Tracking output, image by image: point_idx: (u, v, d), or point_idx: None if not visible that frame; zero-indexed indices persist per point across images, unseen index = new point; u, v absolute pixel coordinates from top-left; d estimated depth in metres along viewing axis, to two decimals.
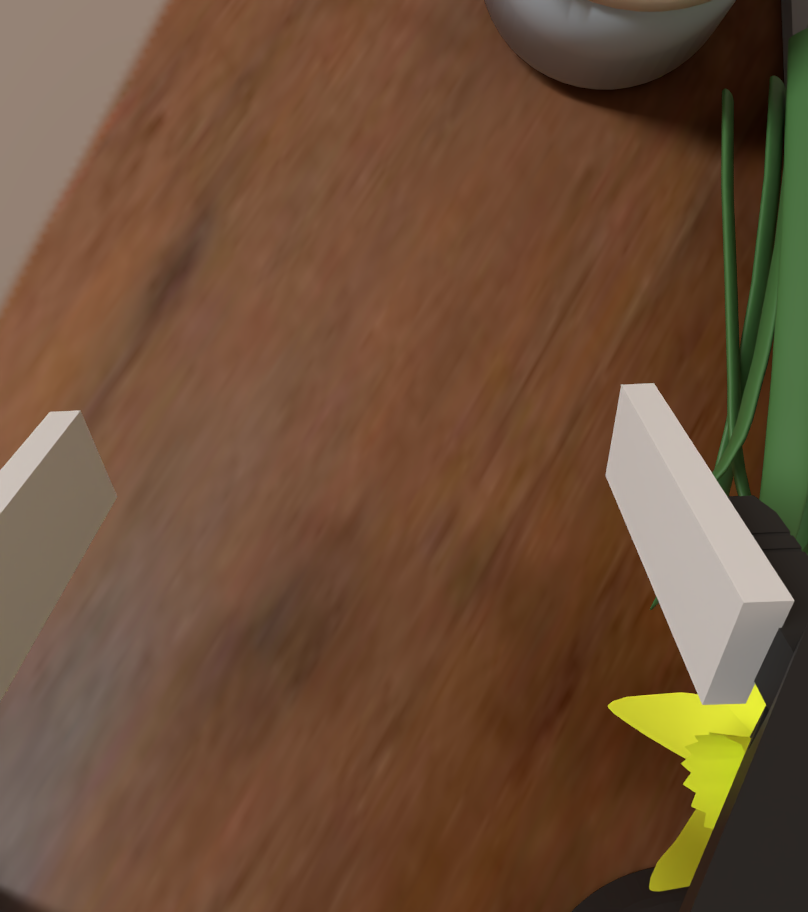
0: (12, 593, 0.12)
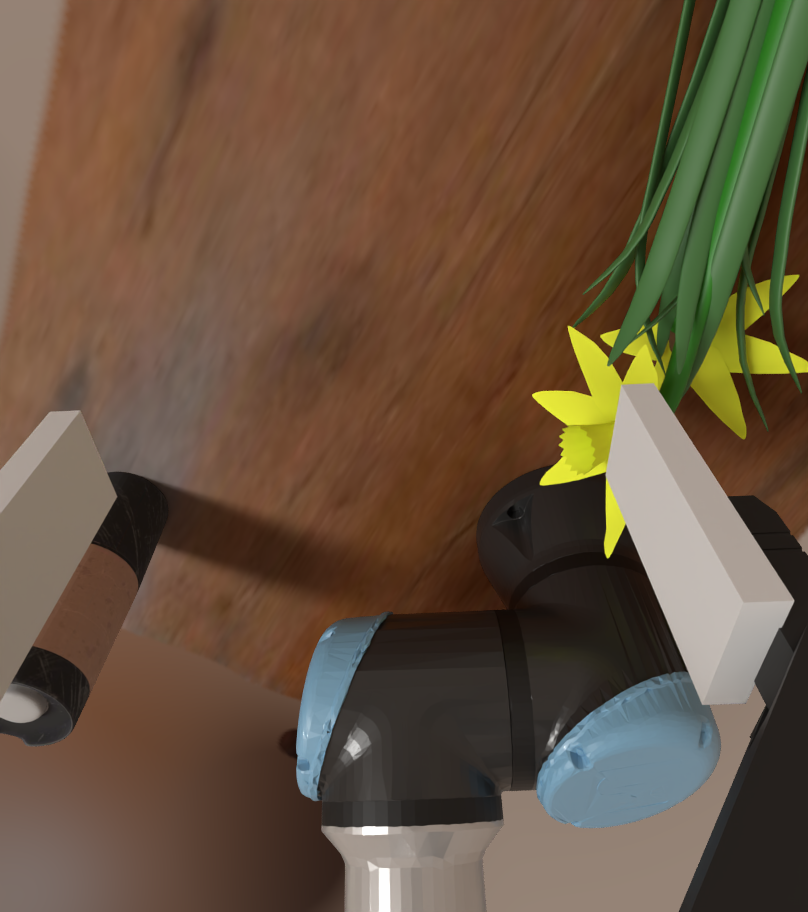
0: (12, 593, 0.12)
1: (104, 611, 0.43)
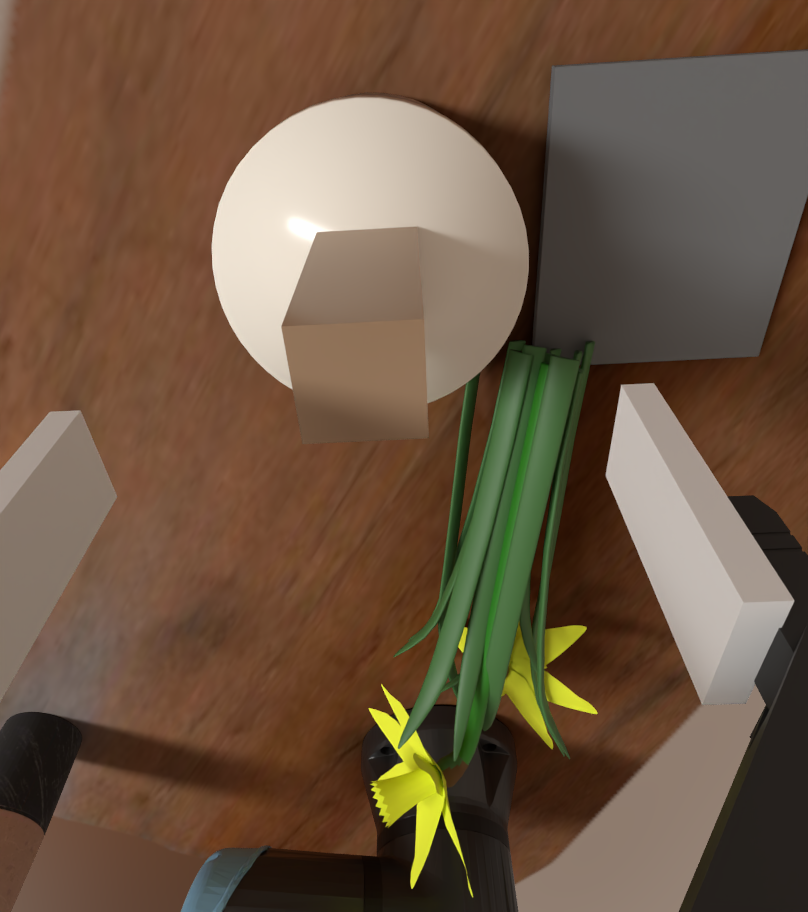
0: (12, 593, 0.12)
1: (4, 881, 0.49)
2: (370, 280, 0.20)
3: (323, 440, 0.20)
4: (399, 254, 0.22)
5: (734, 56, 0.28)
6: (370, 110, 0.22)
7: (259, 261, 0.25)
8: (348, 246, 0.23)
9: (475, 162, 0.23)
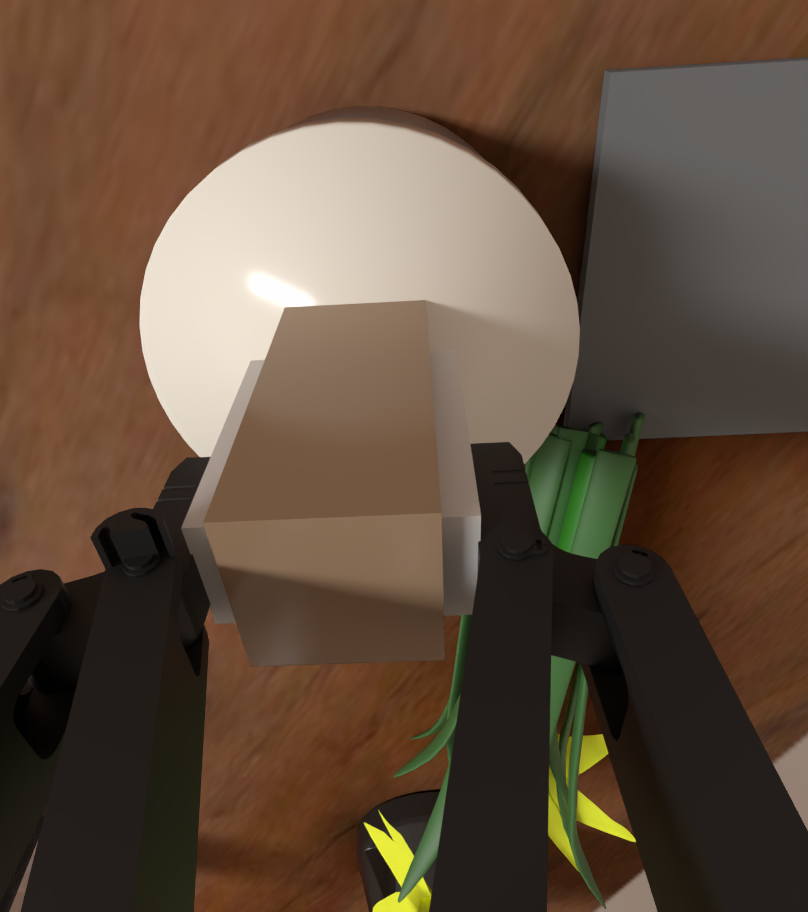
0: None
1: None
2: (355, 411, 0.13)
3: (282, 663, 0.13)
4: (400, 355, 0.15)
5: None
6: (358, 142, 0.15)
7: (207, 345, 0.18)
8: (326, 336, 0.16)
9: (510, 214, 0.16)
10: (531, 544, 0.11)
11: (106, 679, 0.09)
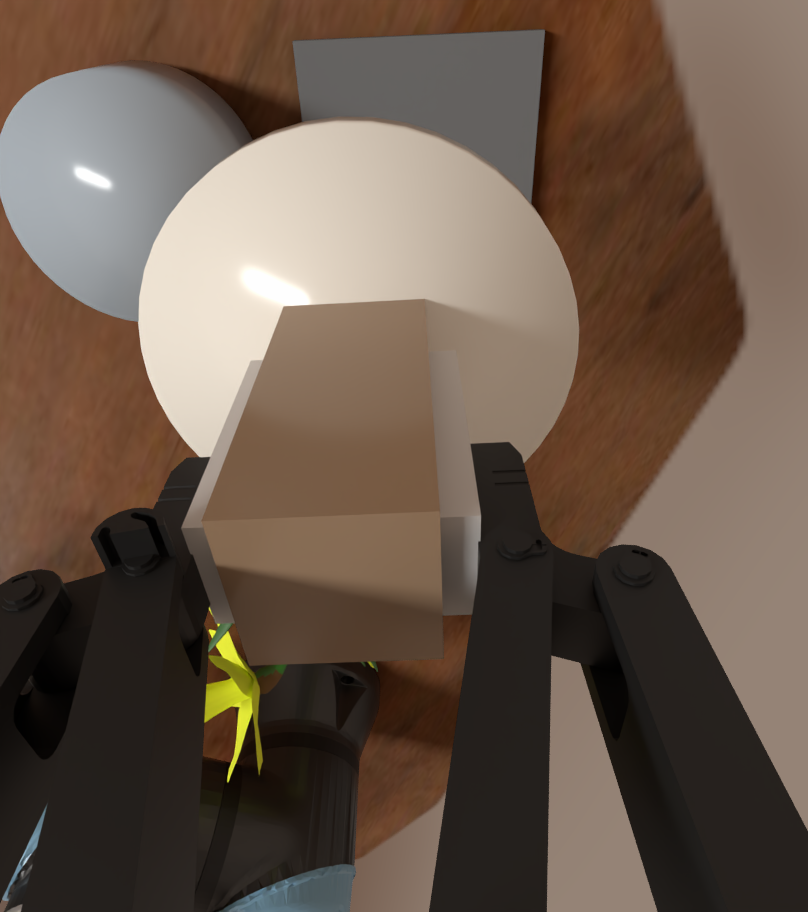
0: None
1: None
2: (354, 410, 0.13)
3: (281, 662, 0.13)
4: (399, 353, 0.15)
5: (445, 35, 0.32)
6: (357, 140, 0.15)
7: (205, 343, 0.18)
8: (325, 335, 0.16)
9: (509, 213, 0.16)
10: (531, 544, 0.11)
11: (105, 680, 0.09)
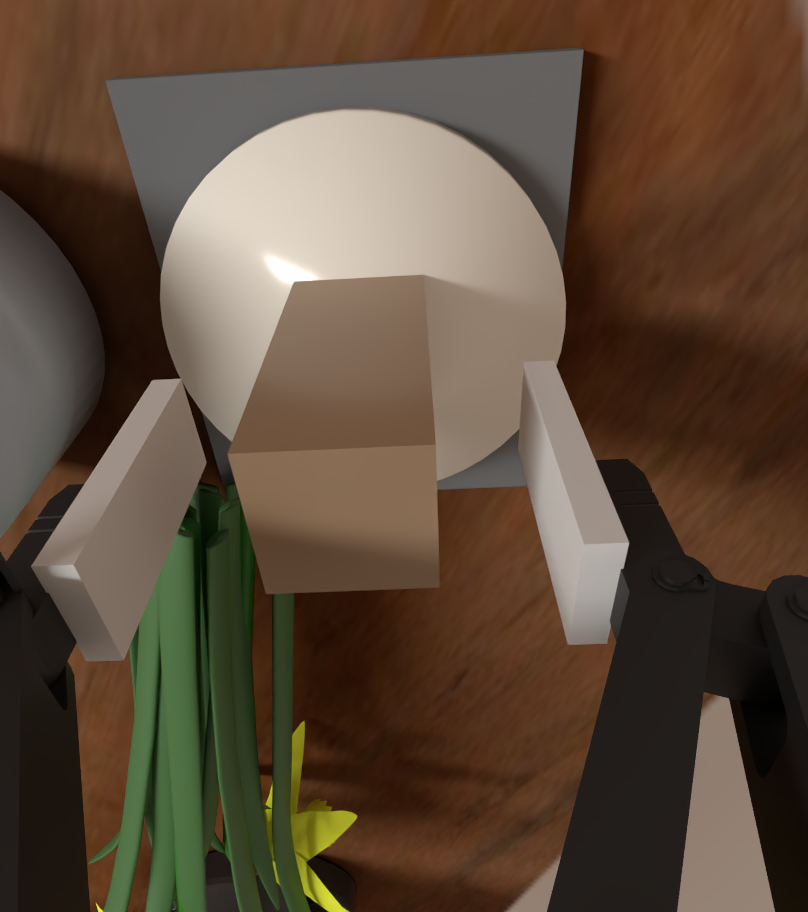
0: (139, 540, 0.13)
1: None
2: (360, 365, 0.15)
3: (294, 590, 0.14)
4: (400, 320, 0.17)
5: (392, 63, 0.17)
6: (362, 127, 0.17)
7: (221, 317, 0.20)
8: (333, 306, 0.18)
9: (501, 194, 0.18)
10: (692, 577, 0.10)
11: None
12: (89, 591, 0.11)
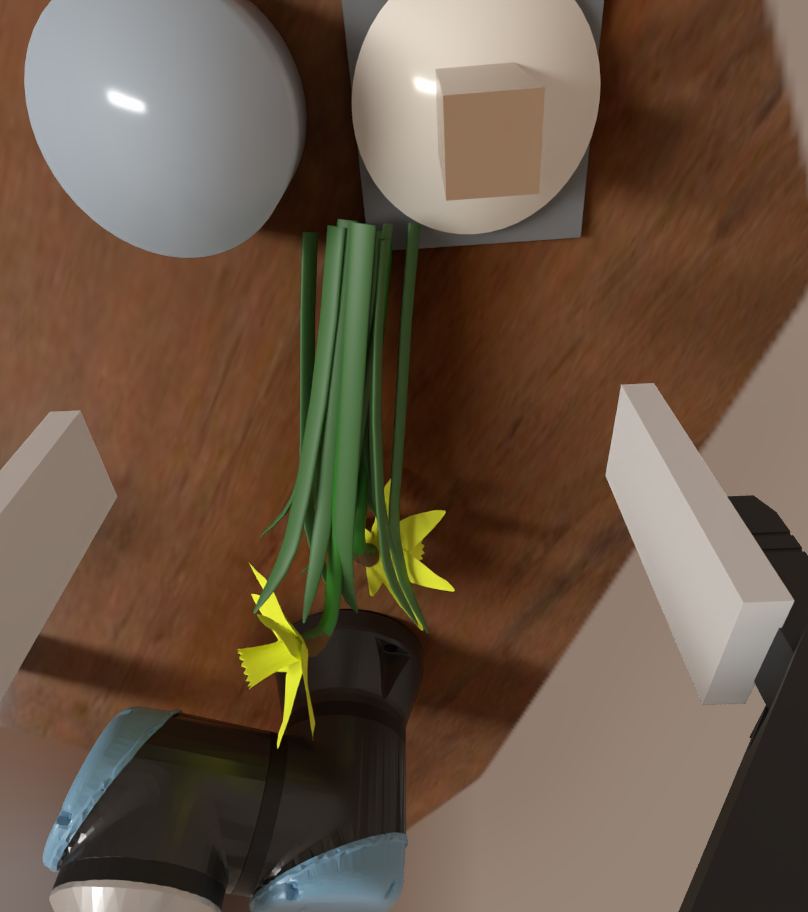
0: (12, 593, 0.12)
1: None
2: (494, 79, 0.27)
3: (462, 197, 0.27)
4: (508, 71, 0.29)
5: None
6: None
7: (388, 96, 0.33)
8: (466, 71, 0.30)
9: (563, 4, 0.30)
10: None
11: None
12: None
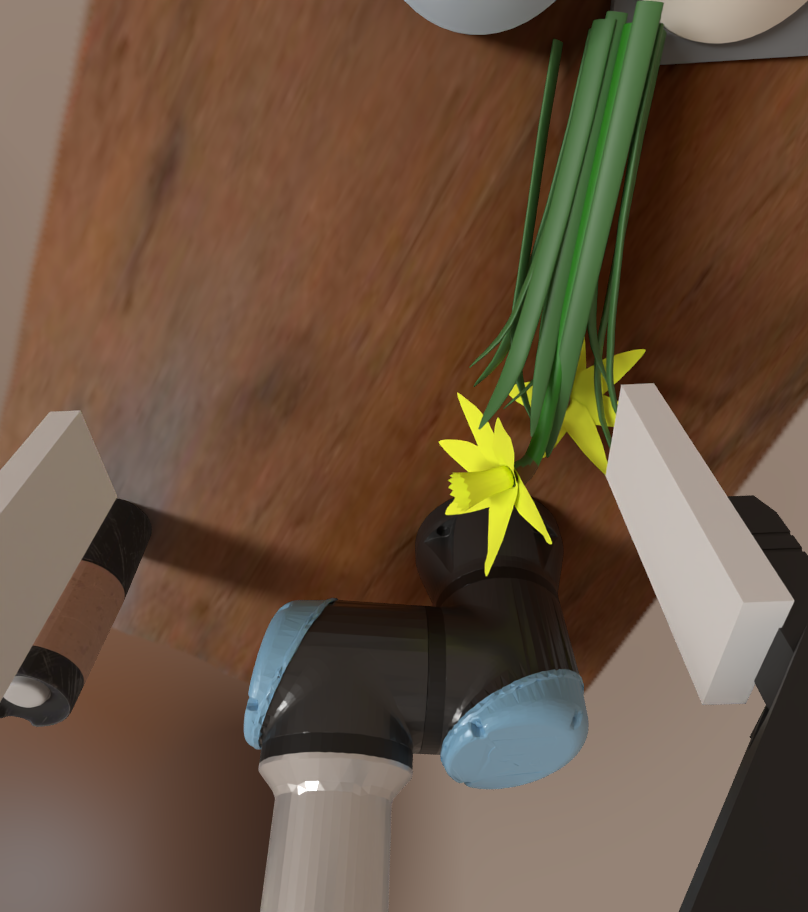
0: (12, 593, 0.12)
1: (95, 617, 0.53)
2: None
3: None
4: None
5: None
6: None
7: None
8: None
9: None
10: None
11: None
12: None
